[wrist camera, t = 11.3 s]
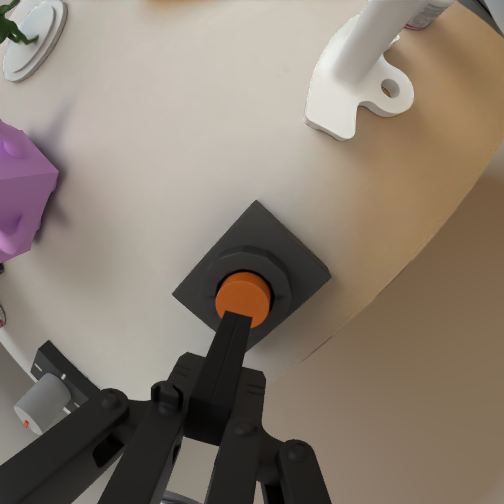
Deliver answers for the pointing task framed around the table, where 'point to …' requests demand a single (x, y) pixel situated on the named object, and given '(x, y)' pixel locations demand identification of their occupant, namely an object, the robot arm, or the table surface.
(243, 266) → the switch block
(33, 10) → the monster figurine
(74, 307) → the table surface
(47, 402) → the temp dial
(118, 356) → the table surface
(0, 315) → the pill bottle
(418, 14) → the pill bottle
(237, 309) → the button
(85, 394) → the dial panel
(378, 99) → the joystick
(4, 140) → the teapot
